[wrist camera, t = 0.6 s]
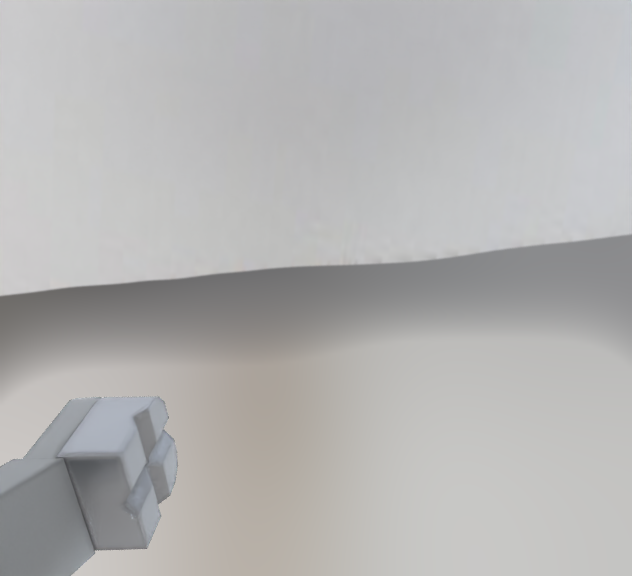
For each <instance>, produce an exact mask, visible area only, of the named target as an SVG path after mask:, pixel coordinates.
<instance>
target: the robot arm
mask: <svg viewBox="0 0 632 576" xmlns="http://www.w3.org/2000/svg"><path fill="white" fill-rule="evenodd" d="M168 418H169V416H168V413H167V409H166V406H165V402H164V401H163V400H162V399H161V398H160V397H104V398H101V397H91V398H76V399H73V400H70V401H69V402H68V403H67V404H66V405H65V407H64V408H63V409H62V411H61V412H60V413H59V414H58V416H57V417H56V418H55V419H54V420H53V422H52V423H51V424H50V425H49V427H48V428H47V429H46V431H45V432H44V433H43V434H42V435H41V437H40V438H39V439H38V440H37V441H36V443H35V444H34V445H33V447H32V448H31V449H30V450H29V451H28V453H27V454H26V455H25V456H24V458H23V459H13V460H11V461H9V462H7V463H6V464H4V465H2V466H0V576H71V575H72V574H73V573H74V572H75V571H76V570H78V568H80V567H81V566H82V565H83V564H84V563H85V562H86V561H87V560H88V559H89V558H91V557H92V556H93V555H94V554H95V550H123V549H147V547H148V545H149V543H150V541H151V538H152V536H153V534H154V531H155V529H156V527H157V525H158V522H159V520H160V517H161V514H160V510H159V506H158V504H159V503H161V502H162V501H163V500H165V499H166V498H167V497H169V496H170V494H171V492H172V489H173V486H174V484H175V480H176V473H177V467H178V462H177V450H176V446H175V441H174V439H173V438H172V437H171V436H170V435H169V434H168V433H167V432H166V431H165V430H164V426H165V424H166V422H167V420H168Z"/></svg>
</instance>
